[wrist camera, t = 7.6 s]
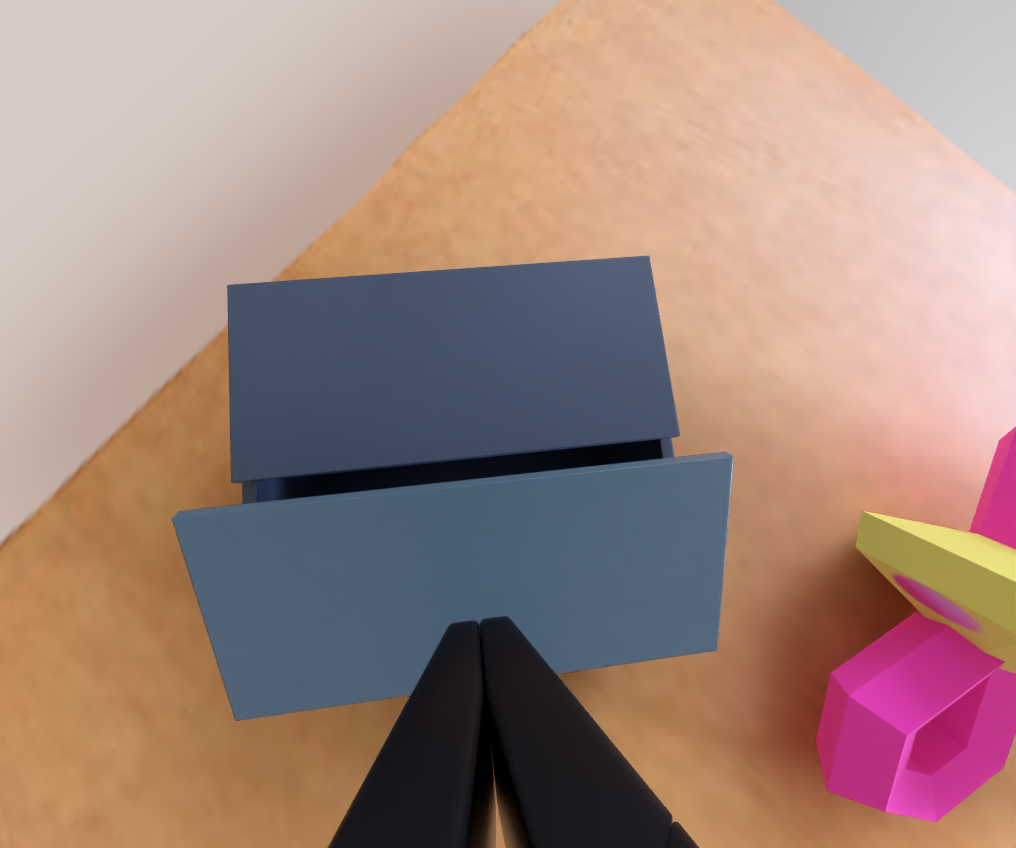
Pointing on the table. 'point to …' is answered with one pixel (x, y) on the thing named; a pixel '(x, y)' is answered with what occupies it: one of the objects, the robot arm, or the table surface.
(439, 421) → the carton
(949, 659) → the toy
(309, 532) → the flap
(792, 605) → the table surface
